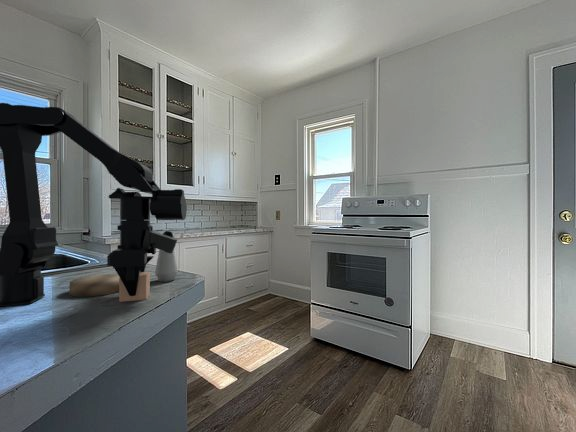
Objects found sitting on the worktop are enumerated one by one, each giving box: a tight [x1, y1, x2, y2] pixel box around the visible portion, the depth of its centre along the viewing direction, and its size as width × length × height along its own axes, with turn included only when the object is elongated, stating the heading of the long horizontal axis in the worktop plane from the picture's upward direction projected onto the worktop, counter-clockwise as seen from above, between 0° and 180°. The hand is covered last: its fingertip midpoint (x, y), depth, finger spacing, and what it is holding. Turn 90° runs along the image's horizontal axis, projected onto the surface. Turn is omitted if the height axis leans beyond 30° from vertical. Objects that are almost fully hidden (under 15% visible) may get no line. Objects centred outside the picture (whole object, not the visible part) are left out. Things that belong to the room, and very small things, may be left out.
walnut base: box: [69, 273, 120, 298], centre depth 67 cm, size 12×12×2 cm
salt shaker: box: [154, 232, 179, 282], centre depth 78 cm, size 6×6×13 cm
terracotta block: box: [118, 271, 151, 303], centre depth 61 cm, size 5×5×5 cm
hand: (135, 292), depth 61 cm, fingers open, 5 cm apart
